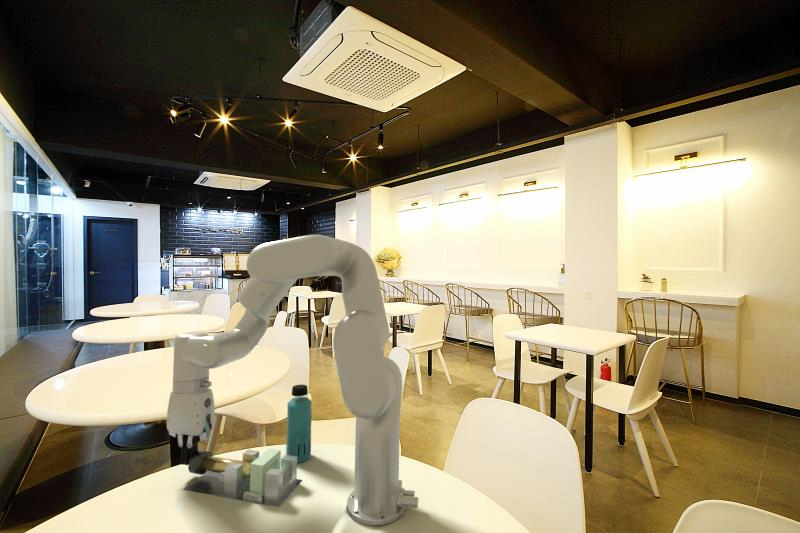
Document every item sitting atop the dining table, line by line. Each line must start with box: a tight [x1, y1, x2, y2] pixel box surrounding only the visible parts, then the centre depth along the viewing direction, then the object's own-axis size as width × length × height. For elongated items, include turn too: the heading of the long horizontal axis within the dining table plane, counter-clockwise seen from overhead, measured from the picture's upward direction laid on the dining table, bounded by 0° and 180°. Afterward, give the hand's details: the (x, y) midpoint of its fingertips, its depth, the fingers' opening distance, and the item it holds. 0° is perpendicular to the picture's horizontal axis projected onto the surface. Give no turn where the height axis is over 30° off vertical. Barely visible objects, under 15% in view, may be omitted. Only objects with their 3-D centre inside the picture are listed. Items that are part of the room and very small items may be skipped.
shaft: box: [187, 449, 252, 478], centre depth 83 cm, size 15×5×5 cm, turn 77°
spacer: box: [250, 448, 282, 496], centre depth 80 cm, size 3×7×7 cm, turn 167°
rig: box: [182, 449, 303, 508], centre depth 81 cm, size 24×10×7 cm, turn 77°
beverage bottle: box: [285, 384, 313, 464], centre depth 94 cm, size 6×7×20 cm
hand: (188, 461), depth 85 cm, fingers closed
